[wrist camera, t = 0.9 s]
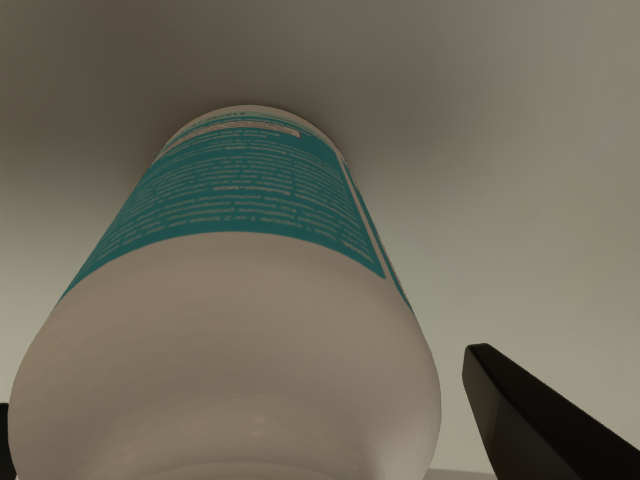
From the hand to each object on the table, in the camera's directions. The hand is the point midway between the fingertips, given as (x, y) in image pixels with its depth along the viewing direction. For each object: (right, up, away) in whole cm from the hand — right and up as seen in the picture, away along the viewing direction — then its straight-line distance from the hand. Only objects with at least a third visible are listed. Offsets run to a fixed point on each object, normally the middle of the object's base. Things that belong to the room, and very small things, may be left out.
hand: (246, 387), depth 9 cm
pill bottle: (-1, +5, +8) cm, 9 cm away
